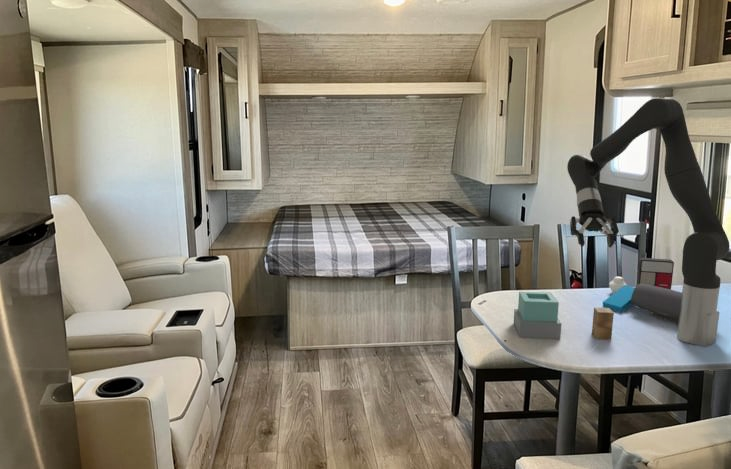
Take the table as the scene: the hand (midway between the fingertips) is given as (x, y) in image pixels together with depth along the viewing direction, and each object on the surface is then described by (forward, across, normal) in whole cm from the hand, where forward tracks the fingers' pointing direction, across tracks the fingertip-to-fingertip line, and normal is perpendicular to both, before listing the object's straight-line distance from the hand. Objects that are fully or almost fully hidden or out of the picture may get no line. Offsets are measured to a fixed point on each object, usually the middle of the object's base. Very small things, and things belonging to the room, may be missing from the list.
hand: (596, 245), depth 173 cm
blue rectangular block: (+4, +18, +33) cm, 38 cm away
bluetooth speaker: (+13, +27, +23) cm, 38 cm away
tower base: (+25, -19, +12) cm, 33 cm away
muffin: (-6, +20, +43) cm, 48 cm away
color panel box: (-2, +31, +39) cm, 50 cm away
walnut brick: (+27, 0, +10) cm, 28 cm away
